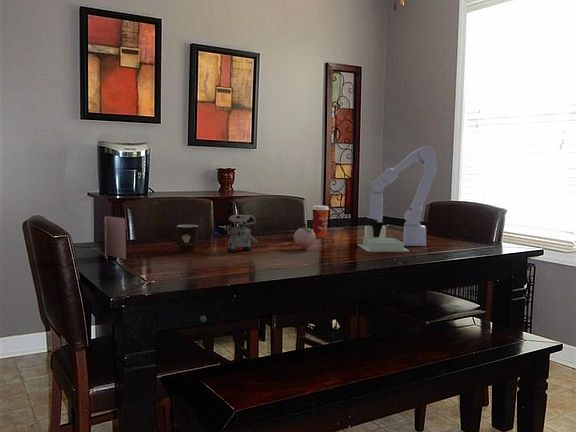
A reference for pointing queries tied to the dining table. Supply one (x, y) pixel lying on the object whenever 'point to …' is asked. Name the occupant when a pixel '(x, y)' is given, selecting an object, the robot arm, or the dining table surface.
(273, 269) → the dining table surface
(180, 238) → the coffee mug
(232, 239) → the figurine
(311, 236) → the decorative fruit
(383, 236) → the tile plate
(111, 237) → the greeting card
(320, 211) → the coffee cup
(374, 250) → the dish rack
